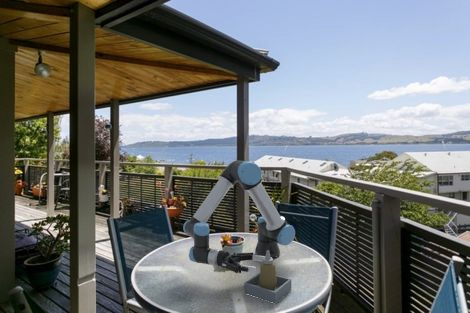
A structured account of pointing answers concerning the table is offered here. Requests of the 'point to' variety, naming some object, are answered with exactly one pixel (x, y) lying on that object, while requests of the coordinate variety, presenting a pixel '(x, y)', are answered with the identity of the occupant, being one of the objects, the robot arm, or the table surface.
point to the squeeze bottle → (268, 273)
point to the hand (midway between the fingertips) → (261, 264)
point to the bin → (274, 296)
